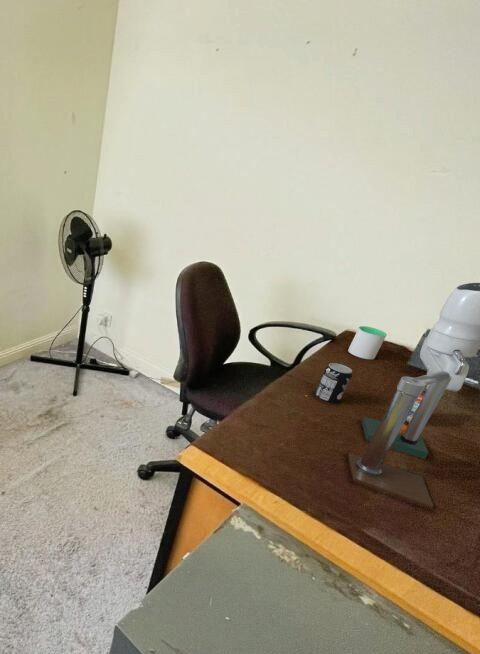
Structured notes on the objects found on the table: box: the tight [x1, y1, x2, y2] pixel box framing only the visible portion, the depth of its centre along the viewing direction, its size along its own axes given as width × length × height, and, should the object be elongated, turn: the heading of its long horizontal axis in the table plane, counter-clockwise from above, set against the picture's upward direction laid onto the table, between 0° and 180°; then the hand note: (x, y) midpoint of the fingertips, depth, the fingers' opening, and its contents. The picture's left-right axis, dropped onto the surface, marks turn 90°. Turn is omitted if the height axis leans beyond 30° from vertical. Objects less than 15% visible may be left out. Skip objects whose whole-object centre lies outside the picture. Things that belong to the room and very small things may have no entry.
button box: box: [361, 416, 429, 460], centre depth 116 cm, size 12×10×4 cm
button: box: [399, 423, 408, 434], centre depth 115 cm, size 4×4×2 cm
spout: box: [396, 371, 452, 445], centre depth 99 cm, size 16×4×21 cm, turn 108°
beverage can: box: [314, 362, 353, 404], centre depth 133 cm, size 7×7×12 cm
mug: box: [347, 325, 387, 360], centre depth 161 cm, size 12×8×10 cm
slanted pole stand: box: [347, 388, 434, 509], centre depth 98 cm, size 14×11×26 cm
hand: (429, 388), depth 110 cm, fingers closed
